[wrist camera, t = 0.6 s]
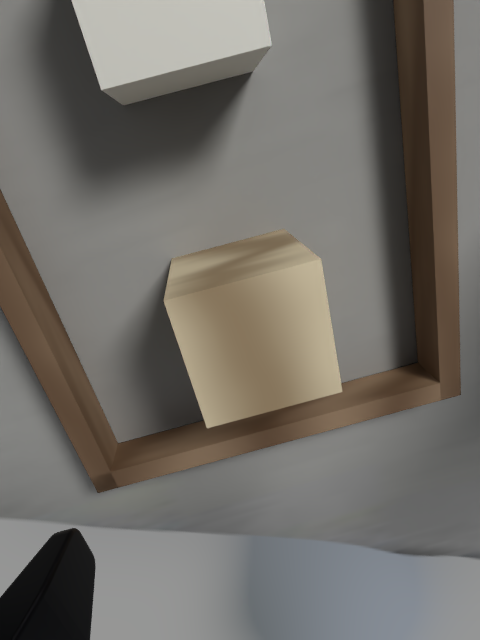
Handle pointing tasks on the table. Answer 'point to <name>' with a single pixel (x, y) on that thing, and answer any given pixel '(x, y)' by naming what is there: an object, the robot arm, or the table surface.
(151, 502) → the table surface
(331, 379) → the labelled birch box
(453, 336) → the walnut tray
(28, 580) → the robot arm
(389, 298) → the table surface
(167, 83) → the plain short box
